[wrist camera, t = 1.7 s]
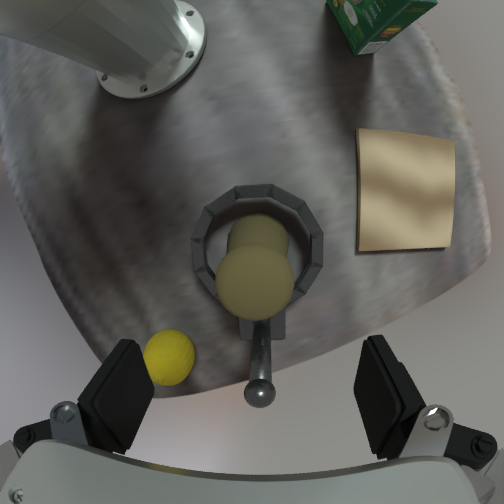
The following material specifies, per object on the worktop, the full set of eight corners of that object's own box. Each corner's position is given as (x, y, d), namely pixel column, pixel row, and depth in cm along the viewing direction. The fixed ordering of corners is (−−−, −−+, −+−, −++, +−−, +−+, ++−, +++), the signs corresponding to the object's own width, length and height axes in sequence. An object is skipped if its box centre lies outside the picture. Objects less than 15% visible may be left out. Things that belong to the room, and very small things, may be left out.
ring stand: (193, 187, 25) (136, 208, 14) (316, 181, 25) (361, 196, 13) (212, 337, 30) (189, 419, 19) (313, 333, 30) (333, 418, 18)
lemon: (148, 328, 31) (122, 369, 23) (180, 308, 30) (157, 352, 22) (177, 359, 32) (159, 404, 24) (210, 343, 31) (196, 391, 23)
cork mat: (355, 129, 23) (358, 128, 22) (450, 141, 22) (454, 140, 21) (356, 248, 26) (359, 251, 26) (446, 244, 26) (449, 246, 25)
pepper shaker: (296, 261, 27) (314, 320, 17) (239, 279, 28) (225, 344, 18) (278, 204, 25) (287, 232, 15) (218, 224, 26) (188, 264, 16)
